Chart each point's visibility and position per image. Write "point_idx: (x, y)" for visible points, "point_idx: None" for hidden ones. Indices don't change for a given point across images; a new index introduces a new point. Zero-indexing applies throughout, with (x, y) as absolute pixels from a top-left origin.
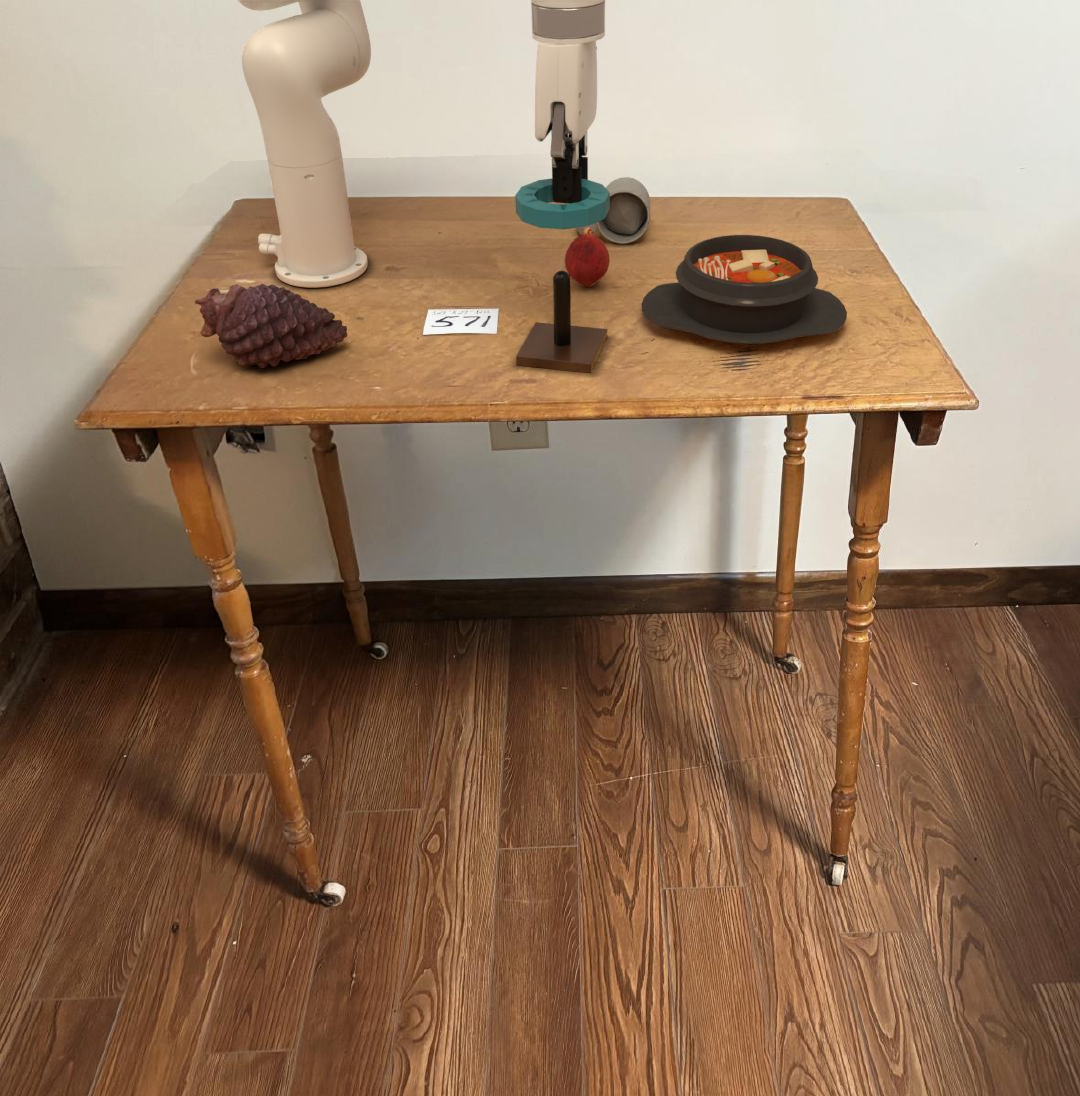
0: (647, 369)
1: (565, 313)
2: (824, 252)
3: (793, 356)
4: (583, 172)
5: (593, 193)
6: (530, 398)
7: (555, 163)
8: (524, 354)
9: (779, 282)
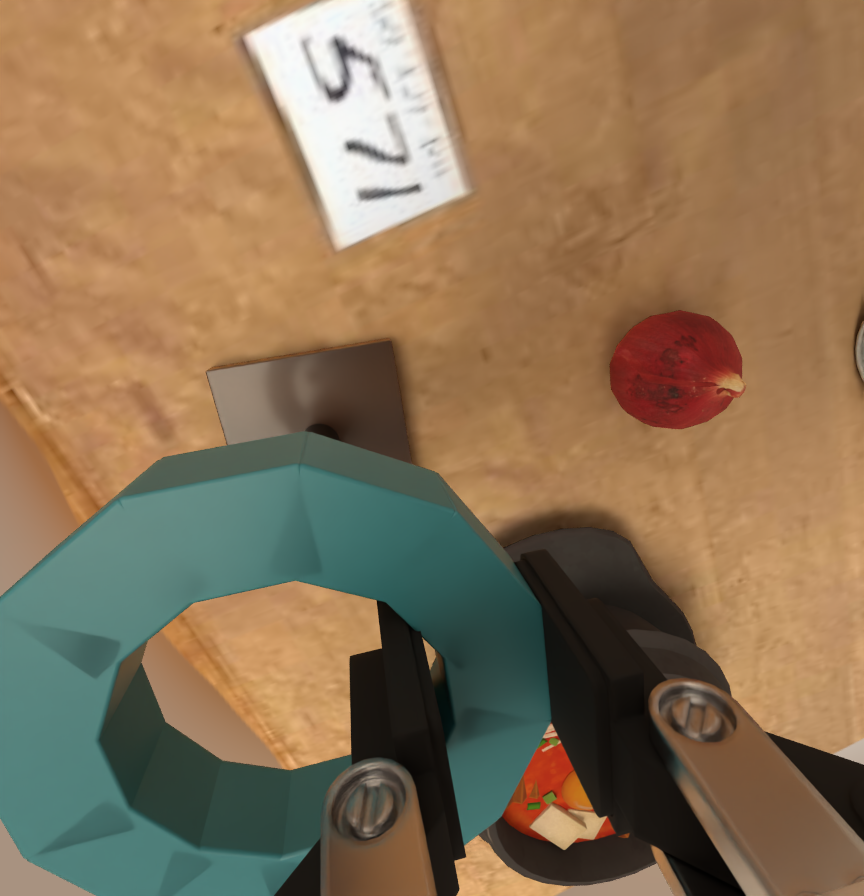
0: (323, 609)
1: None
2: (841, 692)
3: None
4: (567, 745)
5: None
6: (91, 459)
7: (282, 885)
8: (224, 386)
9: (520, 871)
